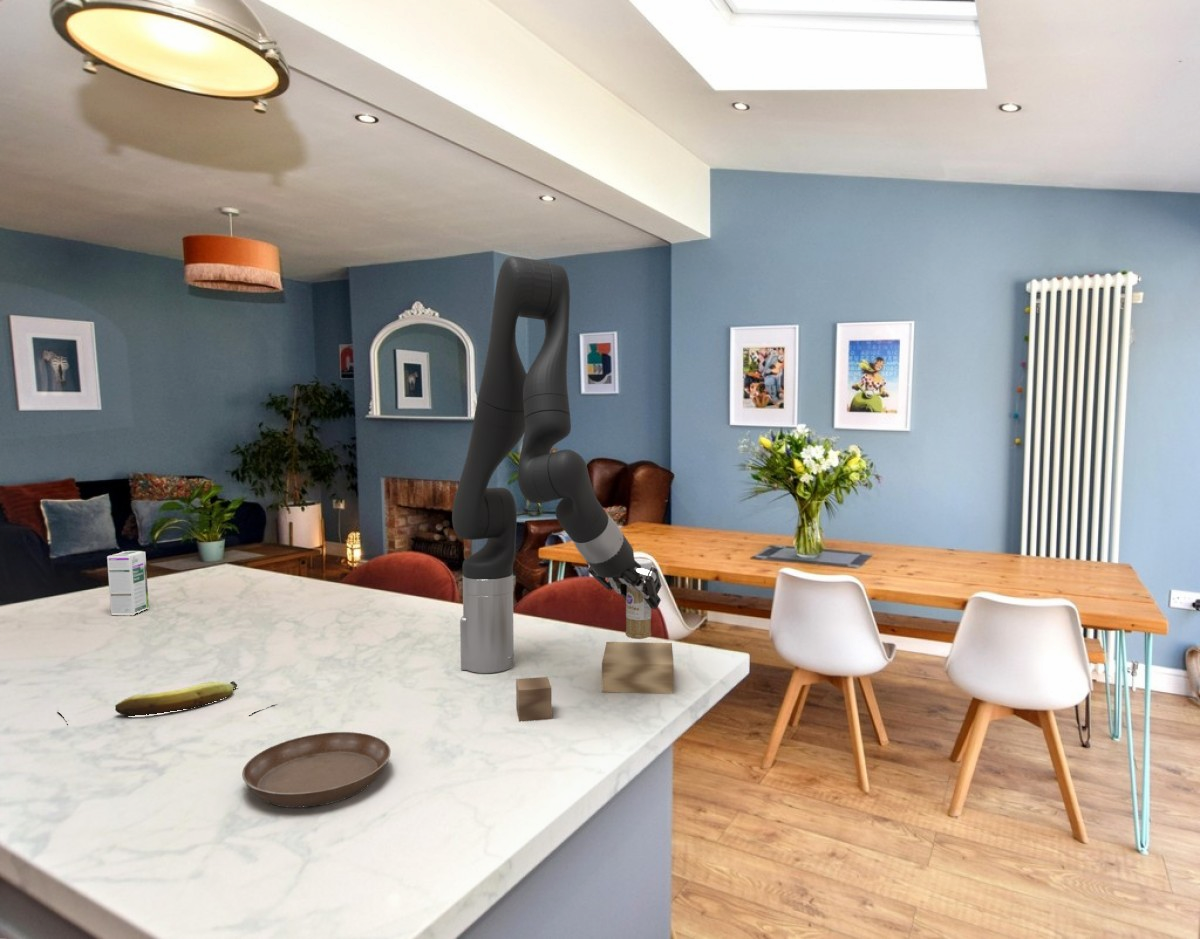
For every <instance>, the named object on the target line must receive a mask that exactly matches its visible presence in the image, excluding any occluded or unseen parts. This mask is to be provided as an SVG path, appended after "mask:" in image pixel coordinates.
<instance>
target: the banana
mask: <svg viewBox="0 0 1200 939" xmlns="http://www.w3.org/2000/svg"><path fill="white" fill-rule="evenodd" d="M237 686H238V684H237V683H236V682H235V681H231V682H228V681H227V682H226V681H217V680H216V681H208V682H203V683H200V684H196V685H192V686H188V687H185V688H181V689H174V690H167V691H166V690H165V691H160V692H153V693H146V694H145V693H144V694H136V695H132V696H129V697H127V698H125V699H123V700H121V701H119V702H118V703H117V704H115V706H114V707H115V709H114V710H115V712H116V713H118V714H121V715H124V716H126V717H127V716H135V715H146V714H147V715H149V714H157V713H164V712H170V711H177V710H183V709H190V710H192V709H191V708H194V707H198V706H202V705H205V704H208V703H212V702H214V701H218V700H220V699H223V698H225V697H227V696H228V695H229V696H230V695H231V694H233V692H234V690H233V689H234V688H236V687H237ZM227 698H228V697H227ZM202 707H203V706H202ZM198 708H199V707H198ZM194 709H195V708H194Z"/></svg>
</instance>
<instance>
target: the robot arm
mask: <svg viewBox="0 0 1200 939" xmlns="http://www.w3.org/2000/svg"><path fill="white" fill-rule="evenodd" d="M494 290H495V291H494V299H493V308H492V316H491V323H490V324H491V325H490V333H489V334H490V335H489V341H488V347H487V352H486V358H485V363H484V368H483V373H482V377H481V380H480V381H481V382H480V386H479V390H478V394H477V400H476V405H475V409H474V410H475V411H474V416H473V424H472V429H471V430H472V431H471V434H470V439H469V445H468V450H467V454H466V456H465V457H466V458H465V461H464V462H465V463H464V466H463V469H462V472H461V475H460V478H459V482H458V486H457V488H456V493H455V496H454V500H453V505H452V510H451V511H452V512H451V513H452V514H451V522H452V528H453V531H454V534H456V536H457V537H458V538H460V539H461V540H466V541H467V540H468V541H469V540H470V541H472V540H473V541H474V540H484V539H486V543H485V544H484V545H483V547H482V548H480V549H479V550H478V551H476V552H475V553H473V554H472V555H470V556H468V557H466V558H465V559H464V560H463V561H462V614H463V615H462V617H461V618H460V620H459V623H460V624H459V626H460V628H459V629H460V630H459V632H460V640H459V642H460V670H462V671H463V670H464V671H465V670H466V671H469V672H471V673H472V672H473V673H477V674H478V673H479V674H491V673H494V674H495V673H500V672H503V671H507V670H510V669H511V668H512V667H513V666H514V664H515V652H514V651H515V650H514V648H515V646H514V641H515V640H514V636H515V635H514V634H515V633H514V564H515V560H516V542H517V520H518V518H517V517H518V514H517V505H516V501H515V497H514V495H513V493H512V492H511V491H510V490H509V489H508V488H505V487H488V486H489V483H490V480H491V478H492V476H493V474H494V473H495V471H496V470H497V468H498V467H499V465H500V464H502V462H503V461H504V459H506V458H507V457H508V456H509V455H510V453H511V452H512V451H513V450H514V449H515V448H516V446H517V445H518V444H519V442H520V441H521V439H522V438H523V439H522V445H521V448H520V449H521V450H520V455H519V460H518V464H517V483H518V487H519V490H520V492H521V494H522V496H523V497H524V498H525V499H526V500H527V501H528V502H530V503H533V504H544V503H549V502H551V501H557V500H560V499H561V500H560V501H559V502H558V504H557V505H556V508H555V516H556V520H557V522H558V524H559V525H560V526H561V528H562V529H563V530H564V532H565V533H566V534H567V535H568V537H569V538H570V539H571V541H572V542H573V544H574V546H575V548H576V549H577V552H578V553H579V554H580V555H581V557H582V558H583V559H584V560H585V562H586V563H587V564H588V565H589V567H588V569H587V573H589V574H590V575H591V576H592V577H593V578H594V579H595V580H596V581H598V583H599V584H600V585H602V586H603V587H604V588H605V589H606V590H608V591H612V590H614V592H615V593H617V594H618V595H621V597H622V599H624V600H625V601H626V600H627V599H626V597H627V586H628V587H629V588H630V589H631V590H632V591H634V592H638V593H640V594H641V595H642V596H643V597H644V599H645V600H646V602H647V603H648V604H649V606H650V607H651V610H657V608H658V607H659V605H660V603H661V601H662V600H661V598H660V596H659V595H658V594H659V592H660V589H661V587H662V582H661V579H660V575H659V572H658V569H657V568H655V567H653V566H652V567H651V568H650V570H649V571H648V570H645V569H642V567H641V565H640V564H639V563H637V562H636V561H635V560H634V559H635V554H634V549H633V546H632V544H631V543H630V542H629V541H628V539H627V537H626V536H625V535H624V533H623V532H622V531H621V530H622V529H620V527H619V526H618V525H617V523H616V522H615V520H613V518H612V517H611V516H610V515H609V514H608V512H607V511H606V510H605V509H604V507H603V506H602V504H601V502H600V501H599V500H598V498H597V496H596V494H595V490H594V487H593V485H592V481H591V478H590V475H589V470H588V466H587V463H586V461H585V459H584V457H582V456H581V454H579V453H577V452H576V451H575V450H571V449H566V448H565V449H560V450H557V451H553V452H551V450H552V448H553V447H554V446H555V445H556V444H558V443H559V442H560V441H562V440H564V439H566V437H568V436H569V435H570V433H571V431H572V430H571V429H572V420H571V413H570V400H569V393H568V380H567V379H568V376H567V367H568V366H567V364H568V350H569V349H568V348H569V332H570V331H569V330H570V305H571V304H570V301H571V296H570V294H571V293H570V292H571V290H570V280H569V277H568V273H567V271H566V269H565V268H564V267H563V266H562V265H561V264H557V263H554V262H549V261H544V260H538V259H533V258H528V257H527V258H526V257H522V256H513V255H512V256H509V257H507V258H505V260H503V262H502V264H501V265H500V269H499V272H498V275H497V278H496V284H495V289H494ZM519 317H520V318H527V319H534V320H541V321H543V322H544V326H545V327H544V328H545V334H544V340H543V343H542V346H541V347H540V349H539V352H538V354H537V355H536V357H535V359H534V360H533V362H532V363H531V365H530V367H529V370H528V371H526V369H525V366H524V364H523V362H522V359H521V356H520V355H519V351H518V347H517V342H516V341H517V340H516V339H517V338H516V336H517V335H516V332H517V331H516V330H517V329H516V328H517V321H518V319H519ZM606 579H607V580H608V581H607V580H606ZM635 584H636V585H635ZM644 584H645V585H646V586H647V587H646V589H645V590H644V589H643V585H644Z"/></svg>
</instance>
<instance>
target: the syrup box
mask: <svg viewBox="0 0 1200 939" xmlns="http://www.w3.org/2000/svg"><path fill="white" fill-rule="evenodd" d="M106 560H107V562H106V563H107V574H108V575H107V576H108V588H109V589H108V590H109V591H108V592H109V607H110V614H111V613H135V612H137V611H140V610H142V609H145V608H148V607H149V608H150V606H149V605H150V604H149V590H148V587H149V586H148V573H147V557H146V551H144V550H127V551H126V550H125V551H121V552H119V553H113V554H112V555H111V554H110V555H108V556H106Z"/></svg>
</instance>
